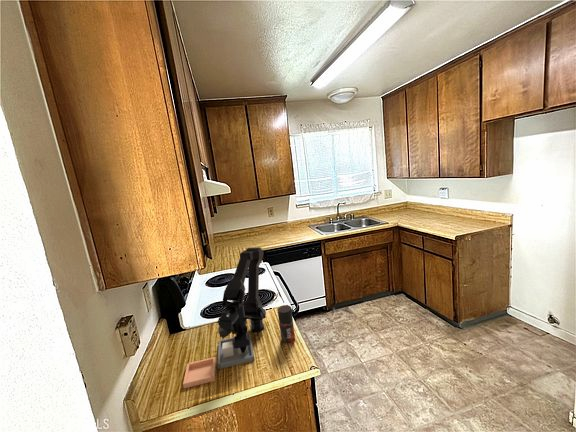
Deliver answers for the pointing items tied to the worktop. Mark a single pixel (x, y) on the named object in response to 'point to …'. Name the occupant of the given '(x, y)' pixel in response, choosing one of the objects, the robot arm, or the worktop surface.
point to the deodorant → (286, 324)
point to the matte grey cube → (241, 352)
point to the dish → (200, 372)
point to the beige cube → (228, 349)
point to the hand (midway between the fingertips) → (243, 349)
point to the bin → (237, 357)
